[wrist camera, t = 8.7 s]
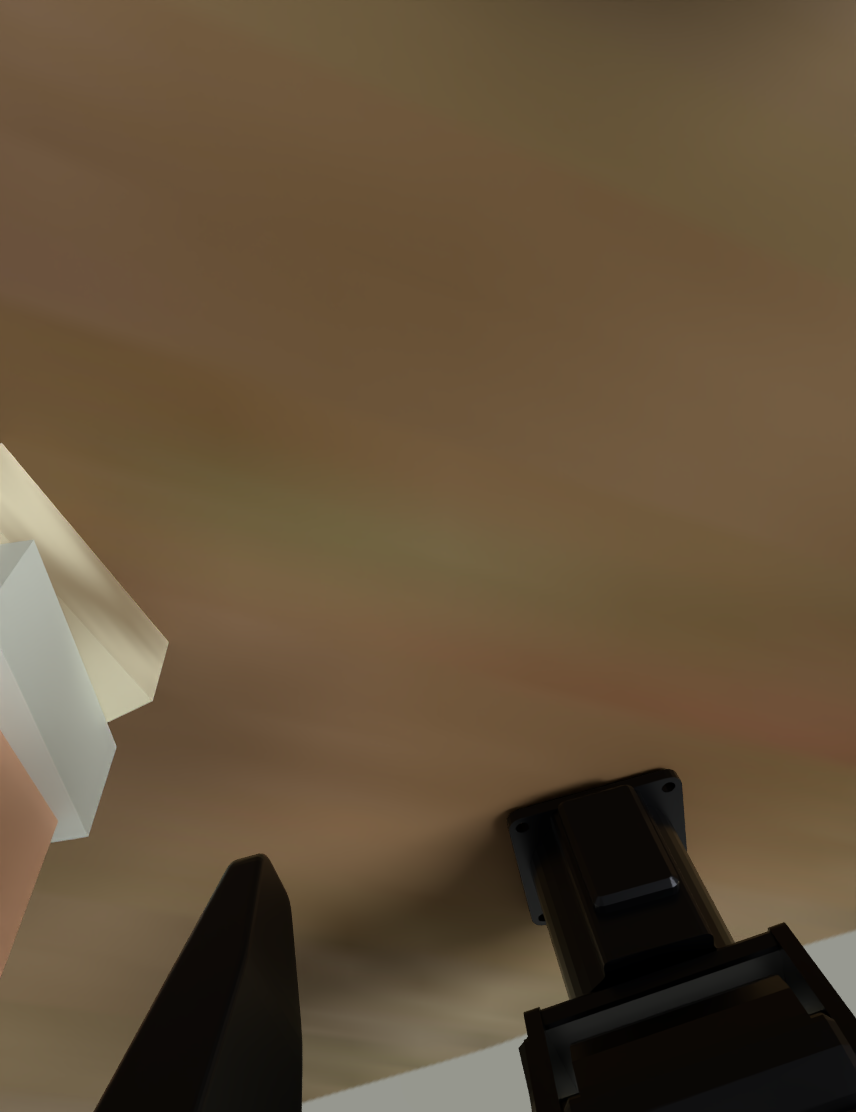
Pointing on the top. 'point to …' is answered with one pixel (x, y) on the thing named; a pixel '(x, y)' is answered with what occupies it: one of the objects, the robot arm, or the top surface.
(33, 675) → the tower top
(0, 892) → the cube
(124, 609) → the tower base
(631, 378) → the top surface
